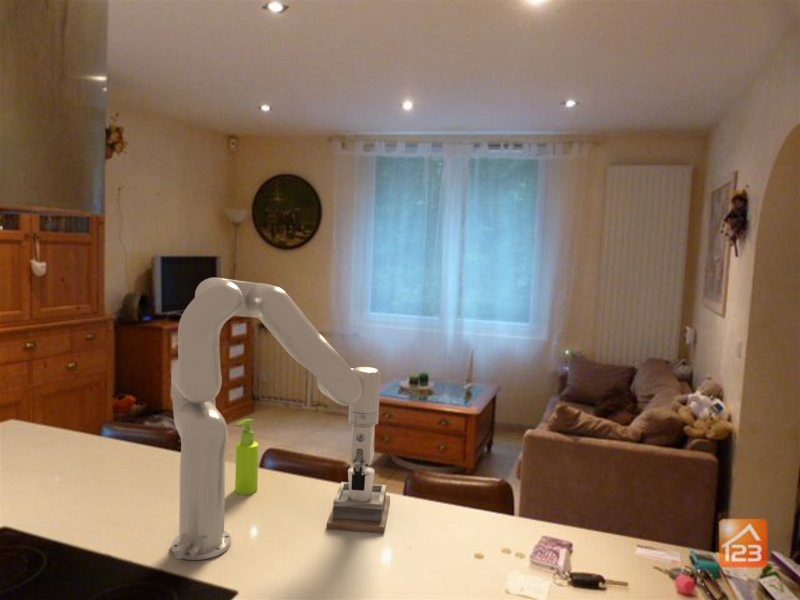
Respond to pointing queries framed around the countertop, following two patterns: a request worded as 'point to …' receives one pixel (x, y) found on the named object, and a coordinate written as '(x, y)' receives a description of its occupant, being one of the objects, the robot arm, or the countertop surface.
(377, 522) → the stand
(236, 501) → the countertop surface
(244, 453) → the soap dispenser
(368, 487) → the white cup
